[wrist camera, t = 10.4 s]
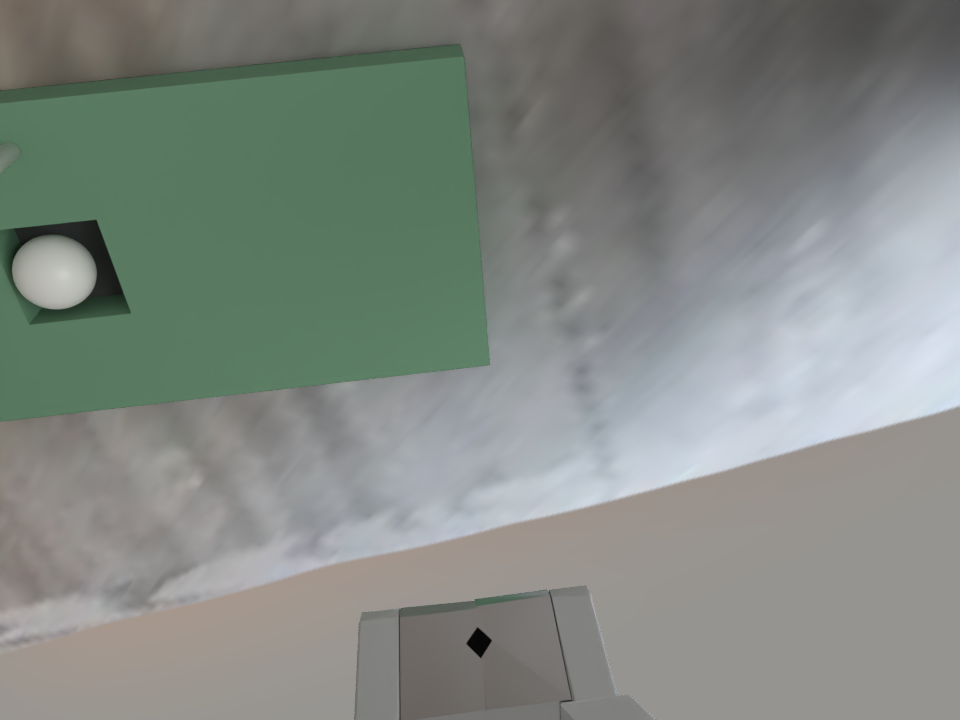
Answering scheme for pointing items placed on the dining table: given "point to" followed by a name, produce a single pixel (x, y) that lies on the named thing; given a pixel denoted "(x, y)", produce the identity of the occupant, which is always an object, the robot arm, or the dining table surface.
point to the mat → (243, 230)
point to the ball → (54, 271)
